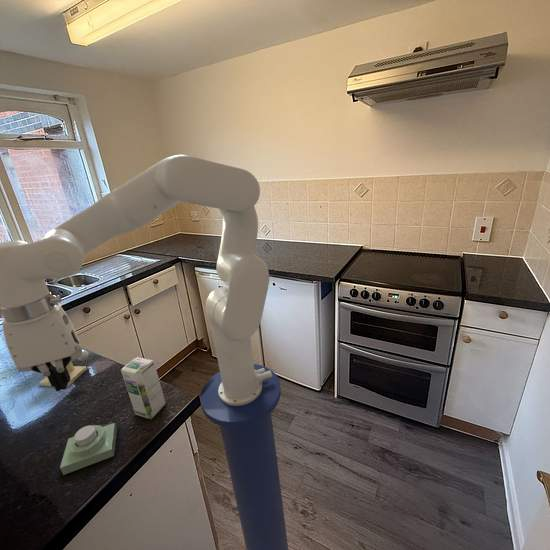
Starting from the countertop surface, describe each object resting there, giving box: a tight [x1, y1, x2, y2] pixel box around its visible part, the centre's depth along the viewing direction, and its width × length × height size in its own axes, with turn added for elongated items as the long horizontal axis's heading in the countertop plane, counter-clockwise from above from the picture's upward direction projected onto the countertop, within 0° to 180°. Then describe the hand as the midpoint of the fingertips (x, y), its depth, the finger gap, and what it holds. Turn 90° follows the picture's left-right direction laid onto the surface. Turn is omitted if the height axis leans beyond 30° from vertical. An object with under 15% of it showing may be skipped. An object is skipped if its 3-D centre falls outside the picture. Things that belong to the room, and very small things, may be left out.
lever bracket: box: [38, 360, 88, 388], centre depth 93 cm, size 10×8×12 cm
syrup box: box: [120, 356, 167, 420], centre depth 77 cm, size 6×6×14 cm
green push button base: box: [59, 422, 118, 476], centre depth 68 cm, size 10×8×4 cm
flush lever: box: [76, 349, 90, 362], centre depth 91 cm, size 13×3×3 cm, turn 81°
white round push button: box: [73, 424, 97, 447], centre depth 67 cm, size 4×4×2 cm
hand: (63, 385), depth 62 cm, fingers closed
